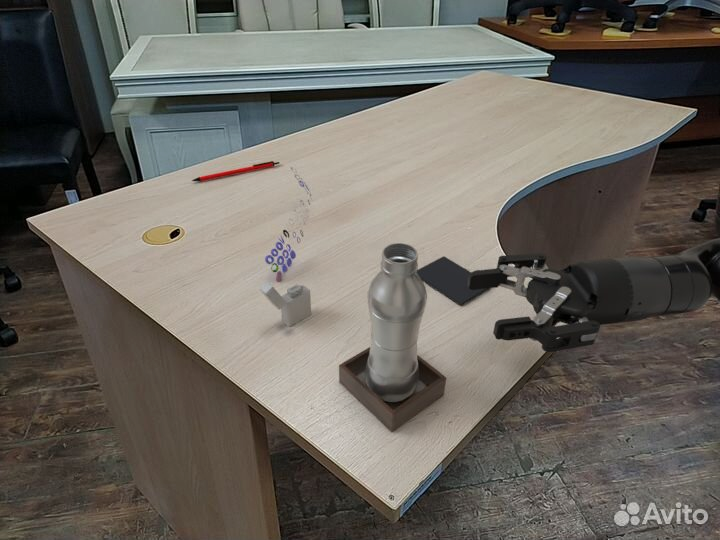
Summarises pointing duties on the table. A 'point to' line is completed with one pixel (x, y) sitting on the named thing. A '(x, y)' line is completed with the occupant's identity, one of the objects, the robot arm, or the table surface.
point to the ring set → (292, 253)
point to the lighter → (290, 302)
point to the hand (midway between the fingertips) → (481, 304)
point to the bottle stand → (378, 406)
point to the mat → (449, 280)
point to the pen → (237, 171)
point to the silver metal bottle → (395, 324)
